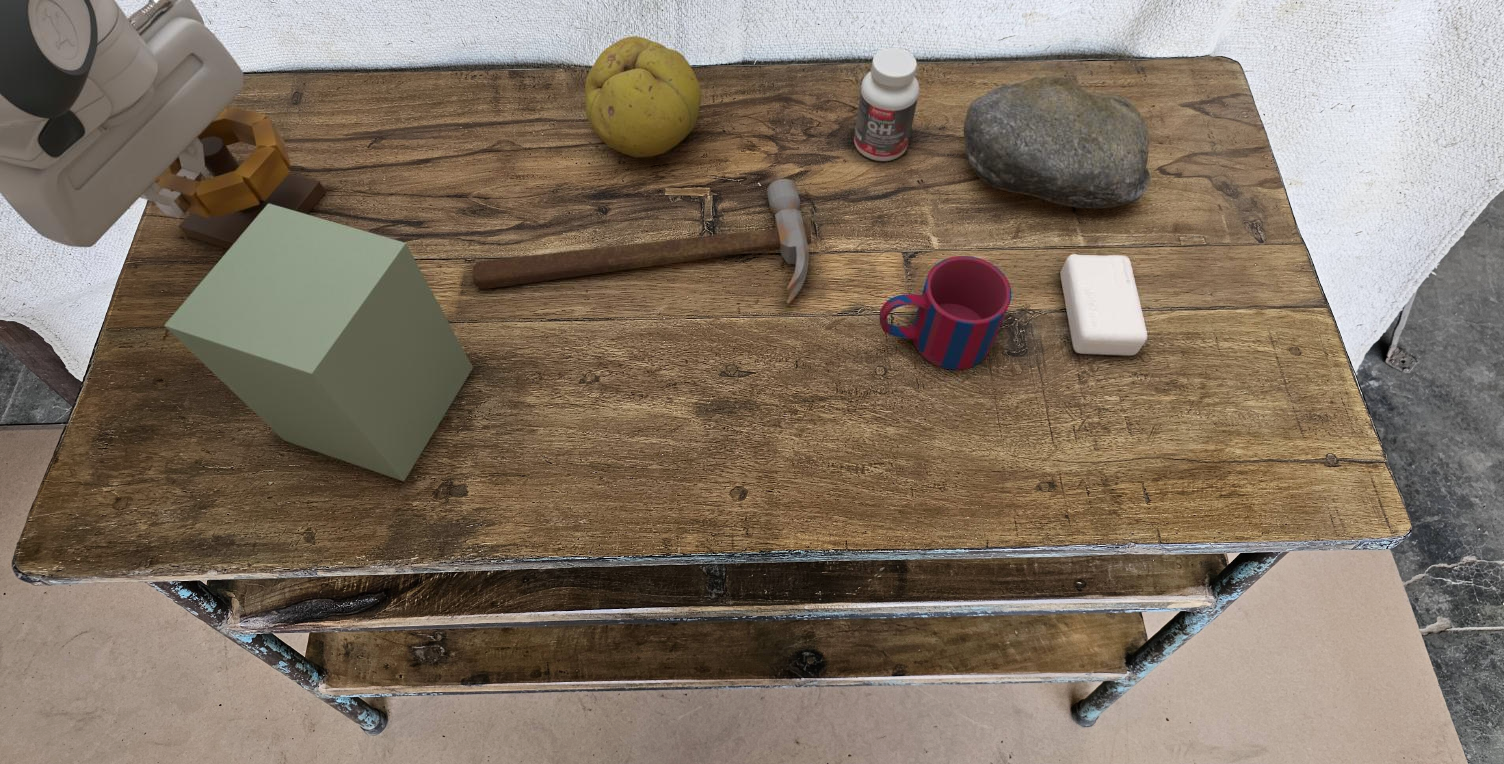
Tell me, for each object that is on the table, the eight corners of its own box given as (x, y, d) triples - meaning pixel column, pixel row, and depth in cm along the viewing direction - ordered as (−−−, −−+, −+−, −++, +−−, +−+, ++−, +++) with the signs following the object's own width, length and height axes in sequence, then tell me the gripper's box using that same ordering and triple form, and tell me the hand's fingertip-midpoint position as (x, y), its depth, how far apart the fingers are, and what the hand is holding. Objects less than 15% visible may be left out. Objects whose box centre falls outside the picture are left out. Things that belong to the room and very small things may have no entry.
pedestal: (404, 481, 66) (311, 373, 52) (283, 440, 68) (163, 325, 54) (473, 367, 71) (406, 242, 57) (359, 332, 73) (268, 202, 59)
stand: (269, 262, 77) (218, 196, 70) (187, 237, 79) (128, 170, 71) (326, 192, 81) (284, 123, 74) (247, 169, 83) (198, 100, 76)
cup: (996, 370, 71) (1017, 323, 65) (876, 370, 71) (886, 323, 65) (985, 305, 74) (1004, 255, 68) (870, 305, 74) (880, 255, 68)
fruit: (701, 96, 88) (696, 11, 79) (707, 180, 82) (701, 97, 73) (594, 102, 88) (576, 17, 79) (591, 187, 82) (572, 104, 73)
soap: (1137, 359, 71) (1152, 339, 69) (1071, 356, 71) (1083, 336, 69) (1118, 274, 76) (1131, 252, 73) (1057, 272, 76) (1067, 250, 73)
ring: (241, 228, 72) (223, 205, 70) (143, 199, 74) (122, 175, 71) (311, 147, 77) (297, 123, 74) (218, 121, 79) (201, 97, 76)
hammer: (471, 216, 77) (799, 176, 78) (481, 237, 79) (799, 198, 81) (467, 330, 70) (824, 284, 72) (477, 348, 73) (823, 304, 74)
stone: (1098, 138, 87) (1147, 54, 79) (1139, 233, 80) (1197, 151, 72) (941, 131, 85) (975, 43, 77) (969, 227, 78) (1010, 142, 69)
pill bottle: (861, 167, 83) (873, 85, 74) (847, 129, 85) (857, 46, 77) (915, 159, 83) (932, 76, 75) (899, 121, 86) (914, 38, 78)
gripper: (141, -30, 66) (235, 110, 78) (-68, 148, 56) (76, 278, 68) (209, -14, 65) (294, 126, 77) (8, 171, 55) (140, 298, 67)
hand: (190, 198), depth 72 cm, fingers closed on ring
